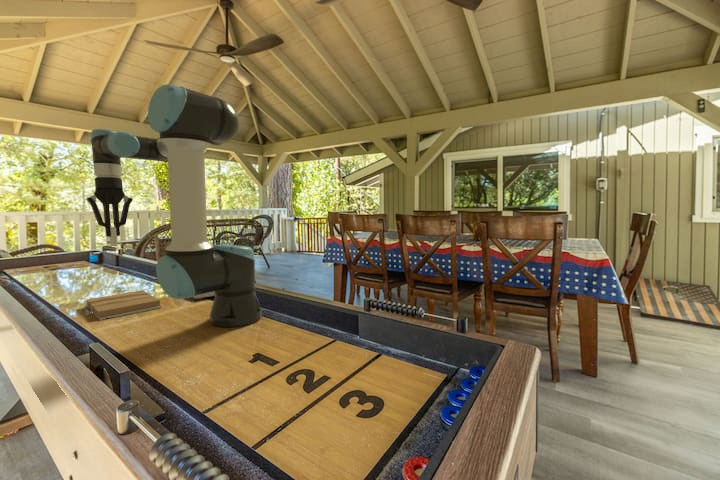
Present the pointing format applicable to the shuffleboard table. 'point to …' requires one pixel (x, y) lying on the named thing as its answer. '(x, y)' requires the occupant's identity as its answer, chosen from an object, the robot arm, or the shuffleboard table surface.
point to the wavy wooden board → (116, 298)
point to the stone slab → (203, 296)
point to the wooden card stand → (126, 307)
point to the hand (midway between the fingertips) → (113, 245)
